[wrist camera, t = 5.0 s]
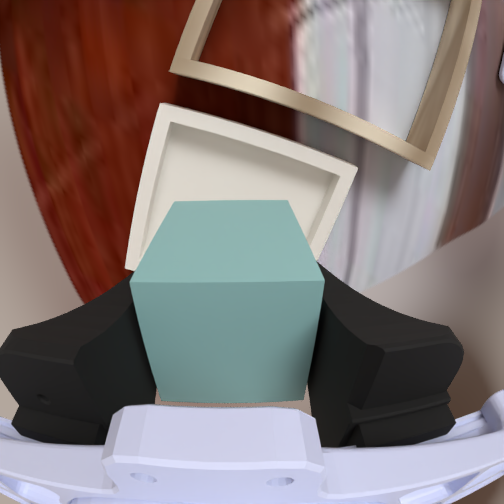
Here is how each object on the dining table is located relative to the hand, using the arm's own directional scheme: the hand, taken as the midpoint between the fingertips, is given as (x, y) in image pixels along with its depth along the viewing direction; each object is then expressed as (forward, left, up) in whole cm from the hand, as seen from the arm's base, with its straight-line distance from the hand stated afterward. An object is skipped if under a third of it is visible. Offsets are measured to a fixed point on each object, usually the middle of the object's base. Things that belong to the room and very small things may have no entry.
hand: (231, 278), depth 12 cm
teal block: (0, 0, -2) cm, 2 cm away
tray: (0, 0, -8) cm, 8 cm away
